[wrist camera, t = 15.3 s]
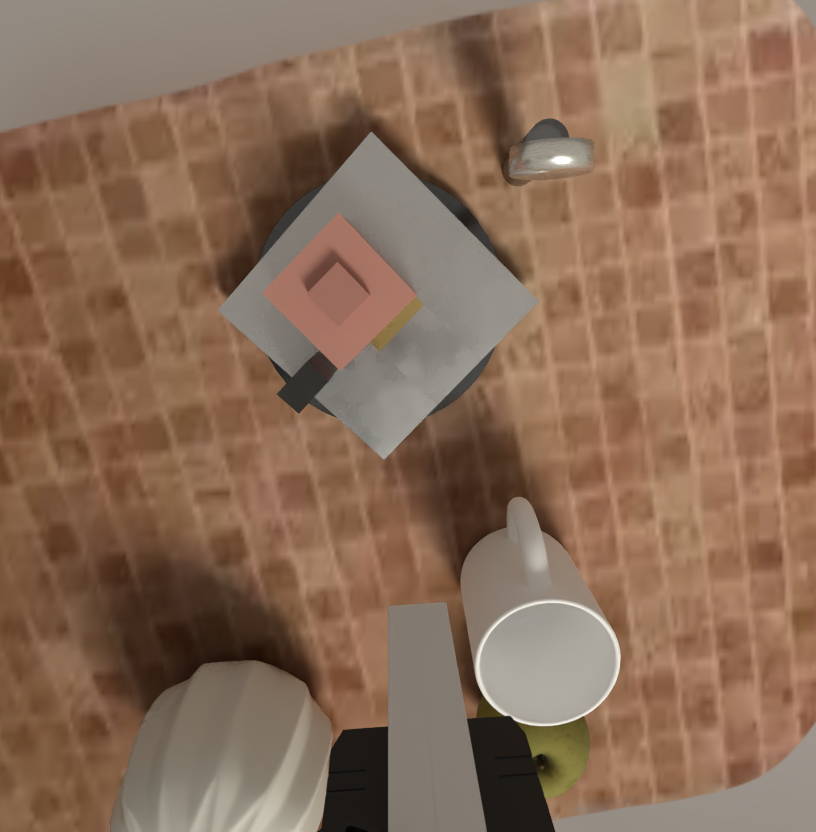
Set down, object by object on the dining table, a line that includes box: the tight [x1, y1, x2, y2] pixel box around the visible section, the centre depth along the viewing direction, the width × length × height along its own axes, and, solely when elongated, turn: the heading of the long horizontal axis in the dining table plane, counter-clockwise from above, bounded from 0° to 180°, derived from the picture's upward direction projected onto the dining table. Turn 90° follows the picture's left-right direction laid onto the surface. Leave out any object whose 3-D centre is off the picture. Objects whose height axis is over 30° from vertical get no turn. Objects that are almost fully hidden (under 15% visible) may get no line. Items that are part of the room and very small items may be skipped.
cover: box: [262, 212, 417, 371], centre depth 34 cm, size 6×6×5 cm
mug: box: [460, 497, 620, 726], centre depth 38 cm, size 12×8×10 cm
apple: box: [476, 695, 590, 798], centre depth 42 cm, size 8×8×7 cm
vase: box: [110, 660, 333, 832], centre depth 40 cm, size 14×14×13 cm
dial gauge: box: [502, 119, 595, 186], centre depth 32 cm, size 4×3×11 cm, turn 92°
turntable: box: [217, 132, 539, 459], centre depth 34 cm, size 14×14×6 cm
